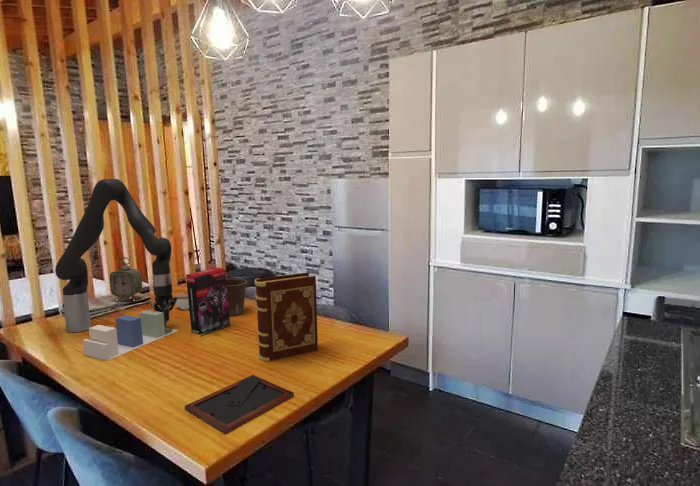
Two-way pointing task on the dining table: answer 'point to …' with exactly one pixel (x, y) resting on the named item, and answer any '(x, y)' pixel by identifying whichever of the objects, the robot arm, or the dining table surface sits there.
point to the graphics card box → (208, 300)
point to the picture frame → (238, 403)
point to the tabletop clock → (125, 281)
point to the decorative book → (286, 315)
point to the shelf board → (102, 349)
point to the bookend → (166, 325)
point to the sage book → (152, 323)
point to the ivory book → (105, 337)
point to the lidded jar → (182, 300)
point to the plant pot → (236, 295)
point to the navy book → (129, 331)
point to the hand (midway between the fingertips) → (165, 321)
